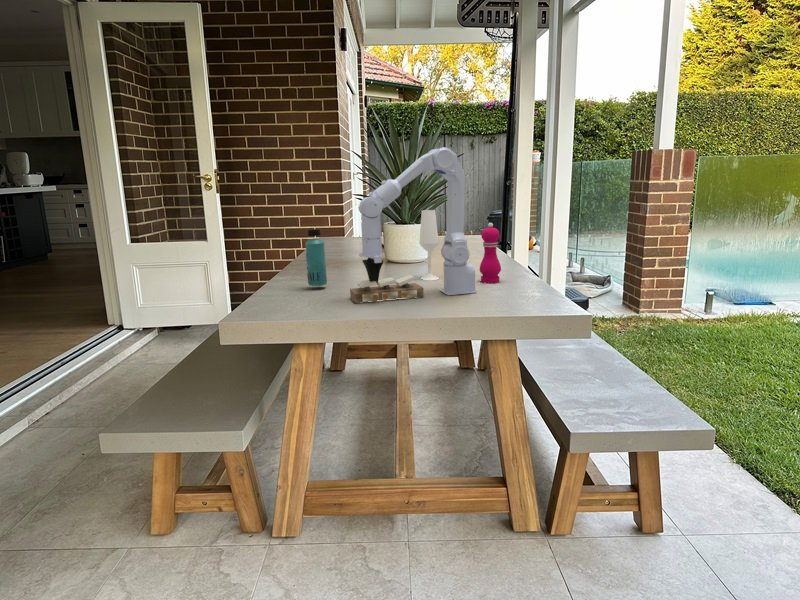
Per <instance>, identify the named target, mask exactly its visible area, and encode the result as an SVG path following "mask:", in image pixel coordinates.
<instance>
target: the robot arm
mask: <svg viewBox="0 0 800 600" xmlns="http://www.w3.org/2000/svg"><path fill="white" fill-rule="evenodd" d="M458 159H459V158H458V154H456V153H455V152H454V151H453V150H451V148H449V147H440V148H433V149H430V150H429V151H428V152H427V153H425V154H422V155H421V156H420V157H419V158H417V159H416V160H415V161H414V162H413V163H411V165H410V166H409V167H407V168H406V169H405V170H404V171H403V172H402V173H400V175H398V176H397V177H396V178H395V179H392V178H391V179H390V178H389V179H387V180H384V179H383V180H382V181H381V182H380V184H381V185H380V186H378V187H377V188H376V189H374V190H373V191H370V192H368V195H369V196H367V197H364V198H362V199H361V200H360V202H359V205H358V211H359V213H360V214H361V218H360V219H361V225H360V226H361V243H362V244H361V245H362V252H361V253H359V254H358V256H359V257H362V258H363V257H364V258H367V259H364V260H363V259H362V263H363V265H364V266H365V269H366V273H367V276H368V280H369V281H370V282H372V281H376V283H378V280H380V273H381V272H380V271H381V269H382V266H383V264H384V260H383V259H382V257H383V254H384V252H383V249H382V248H383V247H382V227H381V225H382V223H381V214H382V212H383V209H385V208H386V207H388V206H389V205H390V204H392V203H393V202H394V201H395V200H397V199H398V197H400V196H401V194H402V189H403V188H404V187H405V186H407V185H408V184H409V183H410V182H412V181H413V180H414V179H416V178H417V177H419V175H422V173H424V172H429V171H434V172H436V173H438V174H440V175H441V176H442V177H443V178H444V179H445V180H446V181H447V192H446V193H447V196H446V197H447V198H446V199H447V200H446V203H447V205H446V233H445V236H444V238H443V244H442V246H441V249H440V252H441V253H440V254H441V257H442V258H443V259H444V261H443V288H439V292H441V293H443V294H445V295H446V296H454V295H465V294H474V293H477V291H476V269H475V266H474V264H473V263H470V262H469V263H468V260H469V259H470V255H471V254H470V250H469V248H468V243H467V242H468V240H467V238H466V235H465V233H464V231H465V229H464V228H465V196H466V195H465V191H466V189H465V188H466V187H465V185H466V173H465V171H464V169H463V167H462V165H461V163H460V161H459V160H458ZM454 194H456V195H454Z"/></svg>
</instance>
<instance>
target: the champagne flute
mask: <svg viewBox="0 0 800 600" xmlns="http://www.w3.org/2000/svg"><path fill="white" fill-rule="evenodd" d="M436 215H437V213H436V209H425V210H423V209H422V210H421V215H420V216H421V217H420V228H419V245H420V247H421V248H422V249H423V250H424V251H426V252H427V273H426V274H424V275H423V276H422V277H420V278H421V279H423V280H422V281H435V280H439V279H440V277H438V276H436V275H435V274H433V273H432V251H434V250H435V249H436V248H437V246H438V244H439V235H438V224H437V216H436ZM421 279H420V280H421Z"/></svg>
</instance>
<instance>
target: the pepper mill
mask: <svg viewBox="0 0 800 600" xmlns="http://www.w3.org/2000/svg"><path fill="white" fill-rule="evenodd" d="M493 226H494V224H493V223H492V222H489V223H487V227H486V228H484V229H483V230H482V232H481V239H482V240H483V242H482V246H483V249H484V251H483V252H484V254H483V258H482V260H481V262H480V264H479V272H480V274H481V276H480V282H481V283H483V284H498V283H500V276H499V274H500V273H501V272H502V266H501V263H500V260H499V259H498V255H497V247H499V244H498V243H499V239H500V231H499V229H497V228H496V227H493Z"/></svg>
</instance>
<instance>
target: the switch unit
mask: <svg viewBox="0 0 800 600" xmlns="http://www.w3.org/2000/svg"><path fill="white" fill-rule="evenodd" d="M349 294H350V296H349V297H351V298H350V299H351V300H352V302H353V301H354V302H355V303H360V302H368V301H377V300H386V299H396V298H413V299H416V298H415V297H424V287H423V286H421V285H419V284H418V283H416V282H413V283H411V282H409V283H406V284H404V285H401V286H399V285H397V284H389V285H386V286H382V287H380V286H378V285H375V286H368V287H362V288H360V287H354V288H353V287H352V288H349ZM354 302H353V303H354ZM355 303H354V304H355ZM360 304H361V303H360Z"/></svg>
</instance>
